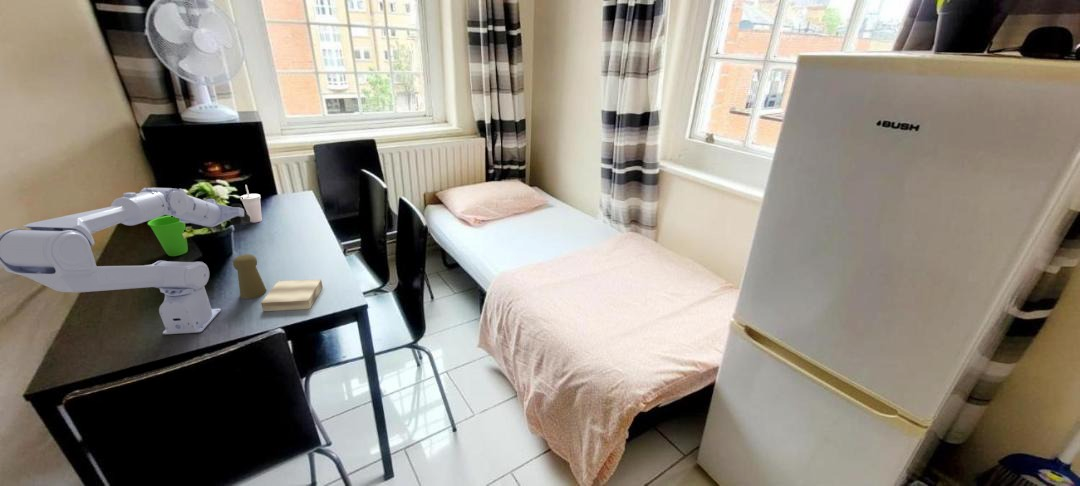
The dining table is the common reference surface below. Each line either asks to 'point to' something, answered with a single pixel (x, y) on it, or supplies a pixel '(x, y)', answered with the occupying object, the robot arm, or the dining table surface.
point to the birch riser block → (292, 295)
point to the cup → (170, 234)
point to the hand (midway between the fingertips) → (234, 221)
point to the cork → (249, 277)
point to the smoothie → (252, 206)
